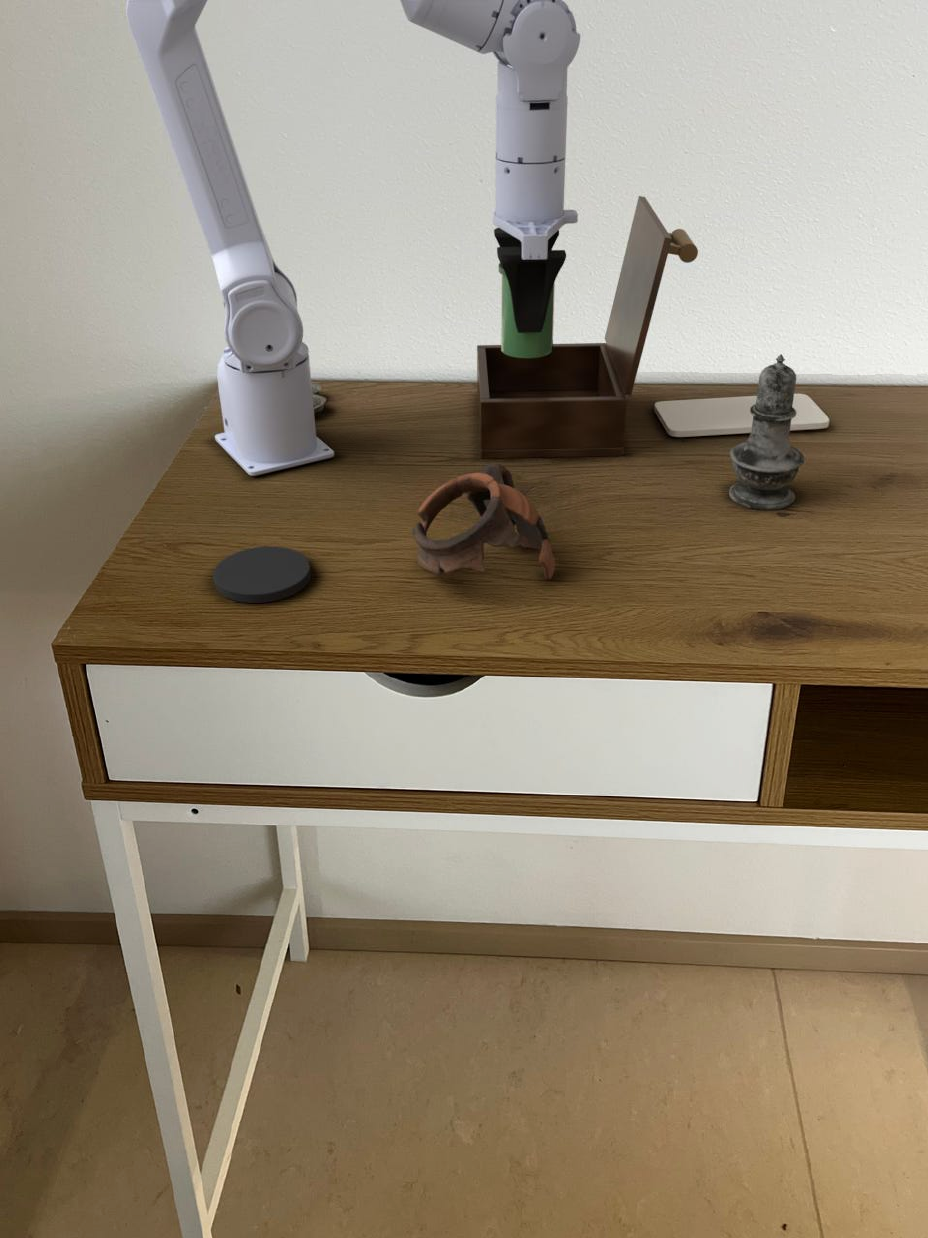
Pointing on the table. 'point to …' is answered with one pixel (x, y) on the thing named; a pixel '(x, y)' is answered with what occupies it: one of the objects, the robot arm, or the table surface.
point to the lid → (641, 288)
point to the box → (550, 403)
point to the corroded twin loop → (317, 398)
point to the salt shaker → (768, 444)
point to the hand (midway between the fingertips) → (527, 321)
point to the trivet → (262, 574)
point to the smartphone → (729, 415)
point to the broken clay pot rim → (482, 523)
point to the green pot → (524, 342)
